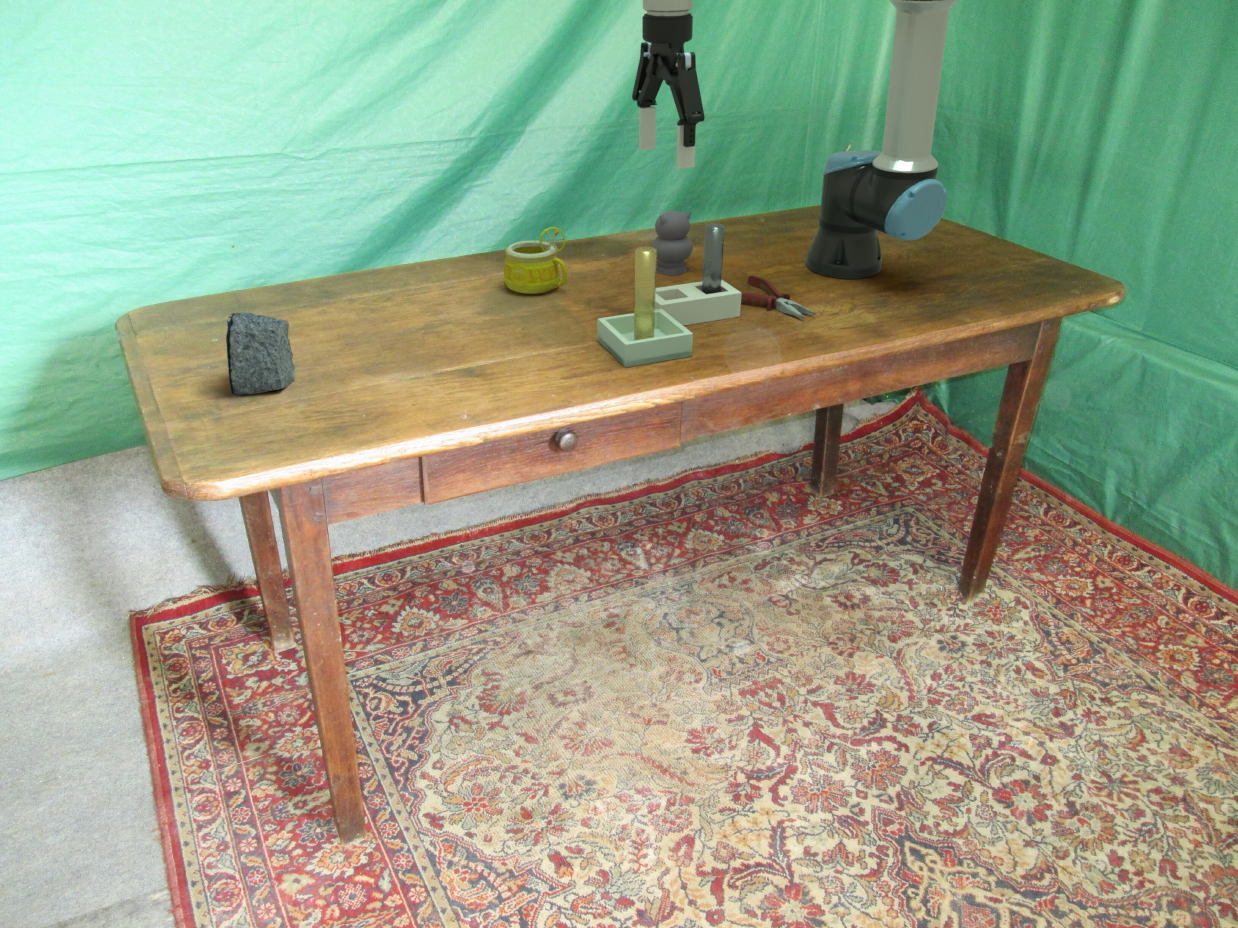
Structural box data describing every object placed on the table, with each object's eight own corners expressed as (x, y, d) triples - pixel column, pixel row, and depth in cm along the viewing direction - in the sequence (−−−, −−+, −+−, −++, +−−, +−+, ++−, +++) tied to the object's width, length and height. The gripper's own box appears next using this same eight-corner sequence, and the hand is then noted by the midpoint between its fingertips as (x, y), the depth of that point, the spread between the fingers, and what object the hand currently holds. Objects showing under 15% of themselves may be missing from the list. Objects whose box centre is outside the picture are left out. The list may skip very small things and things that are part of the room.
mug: (494, 293, 188) (490, 231, 182) (520, 275, 197) (517, 216, 191) (554, 302, 184) (553, 240, 178) (578, 284, 193) (577, 223, 187)
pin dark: (714, 307, 182) (719, 222, 174) (722, 314, 180) (728, 227, 172) (697, 310, 181) (701, 224, 173) (706, 316, 178) (710, 229, 170)
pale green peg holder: (719, 301, 185) (720, 278, 183) (739, 316, 179) (741, 293, 176) (641, 313, 179) (641, 290, 177) (659, 329, 173) (660, 305, 171)
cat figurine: (678, 261, 205) (680, 203, 199) (699, 272, 199) (702, 213, 193) (643, 268, 201) (644, 209, 195) (664, 279, 195) (666, 219, 189)
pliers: (787, 329, 175) (788, 315, 173) (709, 297, 188) (710, 284, 187) (830, 315, 181) (832, 301, 180) (752, 285, 195) (753, 272, 193)
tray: (661, 330, 173) (661, 308, 171) (691, 356, 163) (693, 333, 161) (597, 340, 169) (597, 318, 167) (625, 367, 159) (625, 344, 157)
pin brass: (649, 337, 167) (651, 245, 159) (657, 345, 165) (660, 251, 157) (630, 340, 166) (631, 248, 158) (638, 348, 163) (640, 254, 155)
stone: (221, 405, 151) (236, 361, 157) (288, 413, 152) (300, 370, 159) (214, 346, 142) (231, 303, 149) (285, 356, 144) (299, 313, 150)
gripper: (610, 6, 155) (612, 144, 166) (683, 23, 135) (680, 179, 146) (653, 3, 157) (653, 139, 168) (731, 20, 138) (725, 173, 149)
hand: (666, 158), depth 157 cm, fingers open, 13 cm apart
